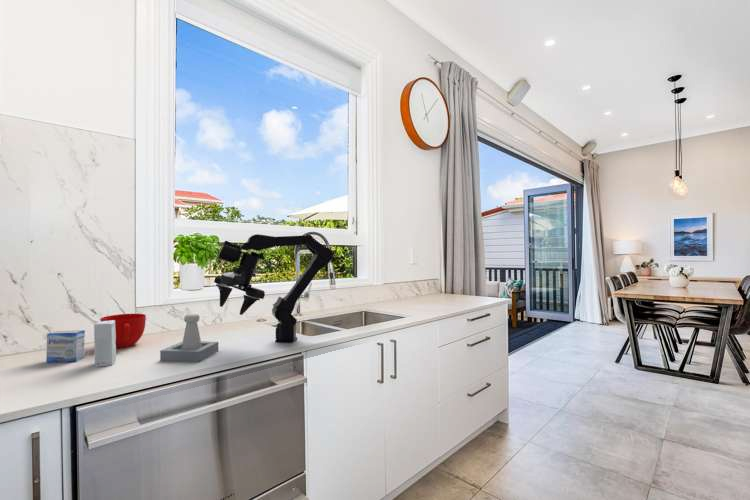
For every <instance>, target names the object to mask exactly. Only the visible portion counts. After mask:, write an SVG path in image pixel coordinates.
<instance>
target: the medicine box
mask: <svg viewBox="0 0 750 500" xmlns="http://www.w3.org/2000/svg"><path fill="white" fill-rule="evenodd" d="M85 337H86V330H84V329H83V330H82V329H80V330H77V329H76V330H56V331H51V332H48V333H47V334H46V352H45V353H46V357H45V358H46V361H45V362H46V363H47V364H53V363H55V364H57V363H73V362H75V363H76V362H78V361H81V360H83V359H84V358H85V345H86V344H85V343H86V342H85V341H86V340H85Z"/></svg>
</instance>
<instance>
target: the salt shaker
mask: <svg viewBox="0 0 750 500" xmlns="http://www.w3.org/2000/svg"><path fill="white" fill-rule="evenodd" d="M199 321H200V315H199V314H198V313H188V314H186V315H185V316H184V323H186V324H185V328H184V332H183V333H184V334H183V338H182V341H183V343H182V348H181V349H185V350H197V349H199V348H201V347H202V344H201V341H202V340H201V334H200V330H199V325H198V322H199Z"/></svg>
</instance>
